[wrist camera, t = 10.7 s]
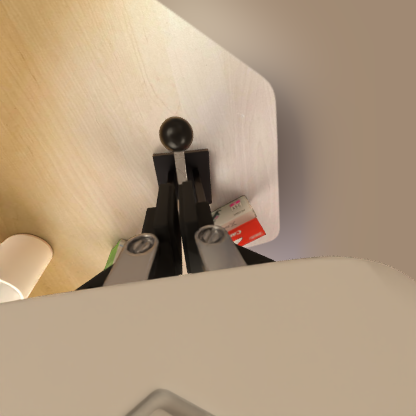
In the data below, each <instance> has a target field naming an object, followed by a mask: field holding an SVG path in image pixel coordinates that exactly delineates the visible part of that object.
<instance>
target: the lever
mask: <svg viewBox="0 0 416 416" xmlns="http://www.w3.org/2000/svg"><path fill="white" fill-rule="evenodd" d="M159 137H160V140H161V143H162V144H163V146H164V147H165V148H166V149H168V150H170V151H172V152H174V158H175V164H176V171H177V178H178V184H182V182H183V181H187V173H186V165H185V157H184V151H185V150H186V149H188V148H189V147H190V145H191V143H192V141H193V130H192V127H191V125H190V124H189V123H188V122H187V121H186V120H185V119H183V118H181V117H170V118H168V119H166V120H165V121H164V122H163V123H162V125H161V127H160V130H159ZM177 206H178V212H179V200H177Z"/></svg>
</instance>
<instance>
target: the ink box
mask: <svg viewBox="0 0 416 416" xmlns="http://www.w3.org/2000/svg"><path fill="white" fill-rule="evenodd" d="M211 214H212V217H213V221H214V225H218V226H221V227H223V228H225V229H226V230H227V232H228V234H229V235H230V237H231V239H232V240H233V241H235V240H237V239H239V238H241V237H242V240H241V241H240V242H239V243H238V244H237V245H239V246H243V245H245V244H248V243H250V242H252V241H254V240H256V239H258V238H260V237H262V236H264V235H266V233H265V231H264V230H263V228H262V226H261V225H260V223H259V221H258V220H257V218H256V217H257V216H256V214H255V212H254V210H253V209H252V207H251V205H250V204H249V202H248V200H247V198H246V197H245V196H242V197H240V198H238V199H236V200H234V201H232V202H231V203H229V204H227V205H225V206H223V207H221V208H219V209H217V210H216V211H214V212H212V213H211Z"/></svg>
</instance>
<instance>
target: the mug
mask: <svg viewBox="0 0 416 416" xmlns="http://www.w3.org/2000/svg"><path fill="white" fill-rule="evenodd" d="M52 257H53V251H52V248H51V246H50V245H49V244H48V243H47V242H46V241H45V240H43V239H41V238H40V237H37V236H34V235H30V234H17V235H13V236H10V237H8V238H7V239H6V240H5V241H4V242H3V243H1V244H0V303H4V302H9V301H15V300H21V299H26V298H27V297H28V296H29V294H30V293H31V291H32V289H33V288H34V286H35V284H36V283H37V281H38V280H39V278H40V276H41V275H42V273H43V271H44V270H45V268H46V267H47V265H48V263H49V262H50V260H51V258H52Z"/></svg>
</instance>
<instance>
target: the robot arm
mask: <svg viewBox="0 0 416 416" xmlns="http://www.w3.org/2000/svg"><path fill="white" fill-rule="evenodd" d="M181 237H182V243H183V249H184V255H185V261H186V267H187V273H188V274H187V275H182V243H181ZM189 273H191V274H189ZM179 275H180V276H179ZM0 416H416V281H415V280H413V279H412V278H410V277H408V276H407V275H406V274H404V273H402V272H401V271H399V270H397V269H395V268H393V267H391V266H388V265H386V264H383V263H380V262H376V261H372V260H368V259H361V258H354V257H341V256H325V257H324V256H323V257H311V258H302V259H292V260H285V261H277V262H276V261H274V260H272V259H269V258H267V257H265V256H262V255H260V254H258V253H256V252H253V251H251V250H249V249H246V248H244V247H242V246H239V245H237V244H235V243H234V242H233V240H232V239H231V237H230V235H229V234H228V232H227V230H226V229H225V228H223V227H221V226H218V225H214V221H213V217H212V214H211V210H210V206H209V202H208V201H203V202H195V199H194V193H193V186H192V181H183V182H182V184H179V212H178V206H177V200H176V194H175V188H174V185H170V183H165V184H160V186H159V192H158V198H157V204H156V207H153V208H147V211H146V216H145V220H144V224H143V229H142V233H141V234H138V235H135V236H133V237H131V238H130V239H129V240H127V241H126V243H125V244H124V246H123V248H122V249H121V251H120V253H119V255H118V257H117V259H116V261H115V263H114V264H112V265H111V266H109V267H108V268H107V269H105V270H104V271H102V272H101V273H99V274H98V275H96V276H95V277H94V278H92V279H91V280H89V281H88V282H86V283H85V284H83V285H82V286H81V287H79V288H78V289H76V290H75V291H71V292H64V293H58V294H51V295H44V296H38V297H32V298H26V299H21V300H15V301H9V302H4V303H0Z"/></svg>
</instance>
